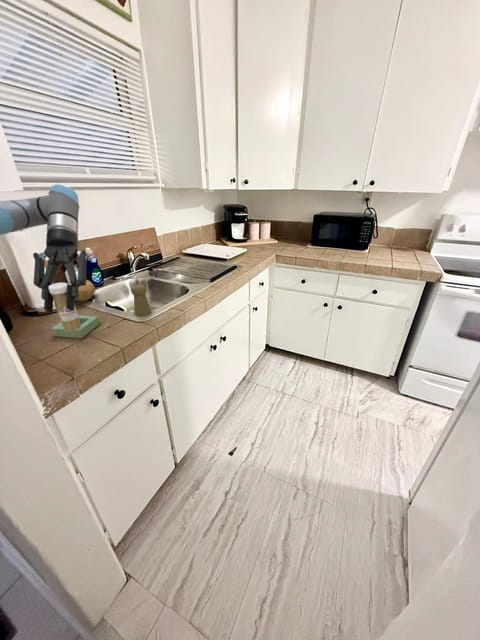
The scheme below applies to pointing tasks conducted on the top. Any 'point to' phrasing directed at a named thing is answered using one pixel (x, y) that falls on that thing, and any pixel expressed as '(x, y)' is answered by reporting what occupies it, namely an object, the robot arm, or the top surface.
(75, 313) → the sprinkles bottle
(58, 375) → the top surface
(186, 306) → the top surface
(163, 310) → the top surface
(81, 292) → the potato
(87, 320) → the holder
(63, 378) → the top surface
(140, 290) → the olive chess piece
